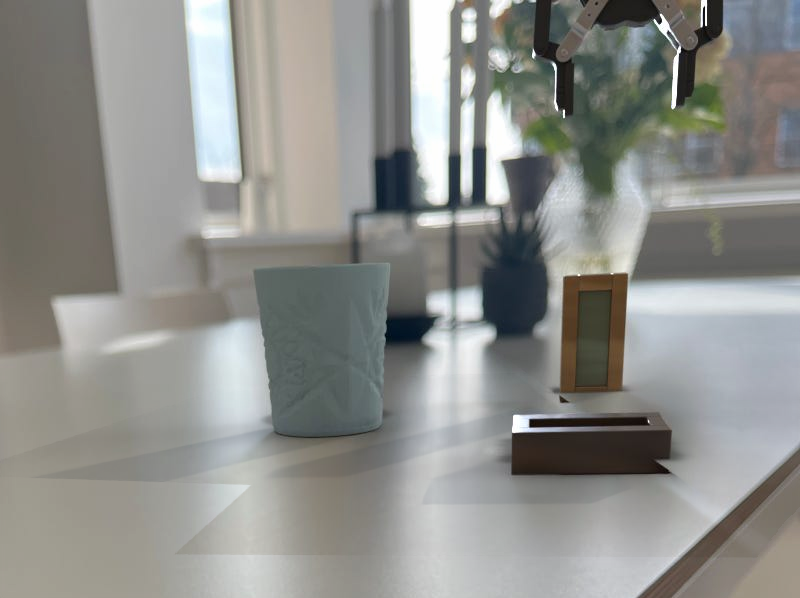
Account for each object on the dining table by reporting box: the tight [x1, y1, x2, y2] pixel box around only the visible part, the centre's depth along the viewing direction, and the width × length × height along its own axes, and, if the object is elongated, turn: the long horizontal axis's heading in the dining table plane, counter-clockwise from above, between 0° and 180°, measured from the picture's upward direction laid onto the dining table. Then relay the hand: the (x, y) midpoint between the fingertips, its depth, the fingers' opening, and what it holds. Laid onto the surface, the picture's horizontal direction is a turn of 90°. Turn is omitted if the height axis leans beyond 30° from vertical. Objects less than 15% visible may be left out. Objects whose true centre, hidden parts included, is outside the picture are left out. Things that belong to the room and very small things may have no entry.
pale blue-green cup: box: [252, 262, 391, 438], centre depth 79 cm, size 10×10×12 cm
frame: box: [558, 271, 629, 403], centre depth 85 cm, size 2×5×10 cm, turn 79°
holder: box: [510, 411, 673, 475], centre depth 63 cm, size 6×9×2 cm
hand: (622, 112), depth 83 cm, fingers open, 8 cm apart
